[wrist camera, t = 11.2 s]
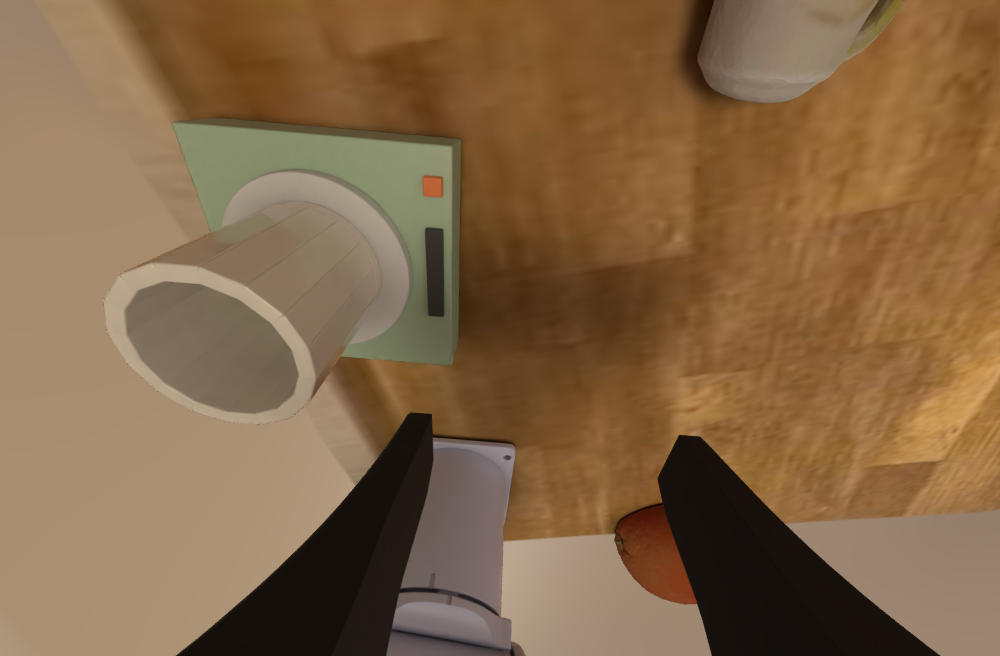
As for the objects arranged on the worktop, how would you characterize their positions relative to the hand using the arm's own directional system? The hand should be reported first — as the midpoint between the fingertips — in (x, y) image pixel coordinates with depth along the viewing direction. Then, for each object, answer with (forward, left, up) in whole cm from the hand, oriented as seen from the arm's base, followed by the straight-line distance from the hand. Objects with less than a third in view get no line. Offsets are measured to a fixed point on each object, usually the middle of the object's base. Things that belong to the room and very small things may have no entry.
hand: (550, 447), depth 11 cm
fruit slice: (-17, -12, -6) cm, 22 cm away
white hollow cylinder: (+2, +10, -6) cm, 12 cm away
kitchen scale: (+2, +9, -9) cm, 13 cm away
